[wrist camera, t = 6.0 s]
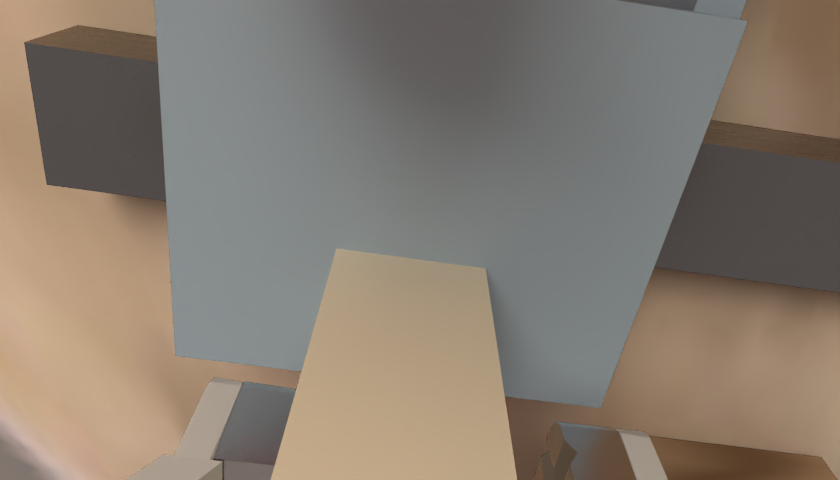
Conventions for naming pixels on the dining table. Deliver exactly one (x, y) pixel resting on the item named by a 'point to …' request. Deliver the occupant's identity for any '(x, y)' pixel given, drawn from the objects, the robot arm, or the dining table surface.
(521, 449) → the dining table surface
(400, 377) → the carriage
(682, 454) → the box
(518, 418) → the dining table surface
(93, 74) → the rail
